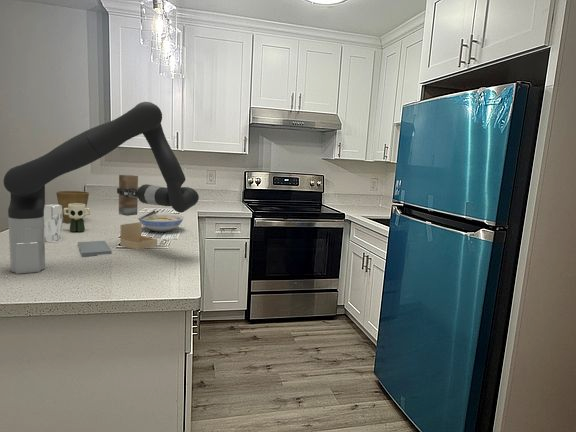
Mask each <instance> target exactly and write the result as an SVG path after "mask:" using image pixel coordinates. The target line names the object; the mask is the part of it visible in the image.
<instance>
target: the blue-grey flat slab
mask: <svg viewBox="0 0 576 432" xmlns="http://www.w3.org/2000/svg"><path fill="white" fill-rule="evenodd" d="M77 246H78V249H79V252H80V255H81V257H82V258H83V257H84V258H86V257H87V258H88V257H98V256H101V255H112V254H113V251H112V249H111V247H110V246H109V245H108V243H107V241H106V240H91V241H78V242H77Z"/></svg>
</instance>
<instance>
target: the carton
mask: <svg viewBox="0 0 576 432" xmlns="http://www.w3.org/2000/svg"><path fill="white" fill-rule="evenodd" d="M142 226H143V225H142V222H140V221H137V222H131V223H124V224H120V239H119V241H120V244H119V245H120V247H124V248H128V249H132V250H136V251H138V250H143V249H144V250H145V249H148V248H152V247H153V248H154V247H157V246H158V238H153V237H150V236H145V235H142V228H143V227H142Z"/></svg>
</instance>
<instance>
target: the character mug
mask: <svg viewBox="0 0 576 432" xmlns="http://www.w3.org/2000/svg"><path fill="white" fill-rule="evenodd" d="M66 210H68V213H66ZM86 211H87V212H86ZM64 215H68V216H69V218H72V219H71V223H69V224H70V225H69V231H70V232H76V231H77V232H85V230H86V228H85V222H84V218H86V215H87V216H90V215H91V207H90V208H89V207H87V206H86V205H85V204H81V203H73V204H68V208H64ZM82 218H83V219H82Z"/></svg>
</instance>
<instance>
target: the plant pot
mask: <svg viewBox="0 0 576 432" xmlns="http://www.w3.org/2000/svg"><path fill="white" fill-rule="evenodd" d="M55 194H56V199H57V204H58V205H62V211H63V221H64V222H65V223H66V224H70V223H71V219H72V218H69V216H68V215H64V208H68V204H73V203H81V204H85V205H86V207H87V205H88V201H89V195H90V192H88V191H81V190H80V191H79V190H59V191H56V192H55ZM66 213H68V210H66ZM82 219H83V220H84V218H82Z"/></svg>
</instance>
